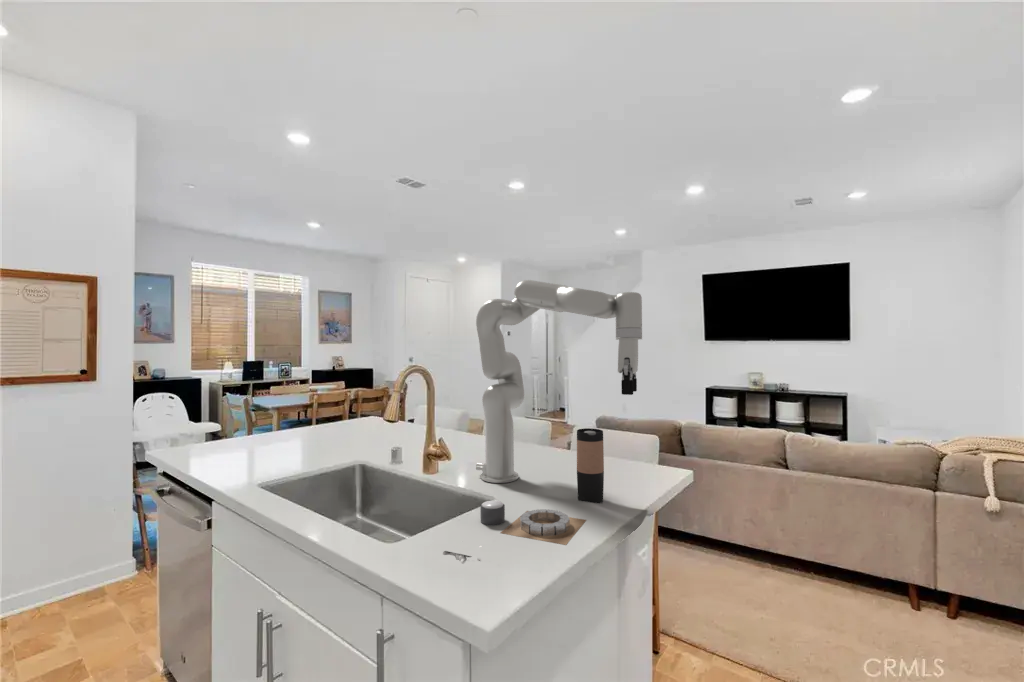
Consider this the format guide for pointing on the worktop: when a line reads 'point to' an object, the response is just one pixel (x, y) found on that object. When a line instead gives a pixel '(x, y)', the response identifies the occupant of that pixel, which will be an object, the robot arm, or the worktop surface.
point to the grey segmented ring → (544, 529)
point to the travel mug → (590, 465)
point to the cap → (492, 513)
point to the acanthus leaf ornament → (458, 555)
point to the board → (559, 539)
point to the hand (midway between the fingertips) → (629, 392)
